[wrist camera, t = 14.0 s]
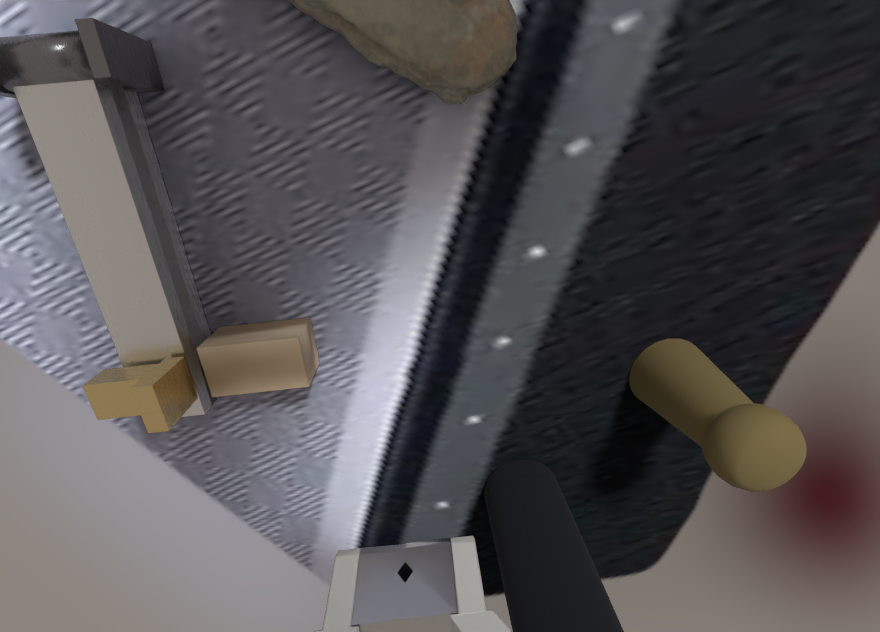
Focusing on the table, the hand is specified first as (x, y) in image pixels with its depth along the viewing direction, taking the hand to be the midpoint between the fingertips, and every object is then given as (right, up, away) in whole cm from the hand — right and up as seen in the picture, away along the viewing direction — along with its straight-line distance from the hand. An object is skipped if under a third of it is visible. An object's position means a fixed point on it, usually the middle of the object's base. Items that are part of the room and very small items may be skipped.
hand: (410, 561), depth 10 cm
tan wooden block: (-12, +3, +22) cm, 25 cm away
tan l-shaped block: (-18, +1, +18) cm, 25 cm away
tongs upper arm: (-18, +10, +17) cm, 27 cm away
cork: (+19, +1, +25) cm, 31 cm away
